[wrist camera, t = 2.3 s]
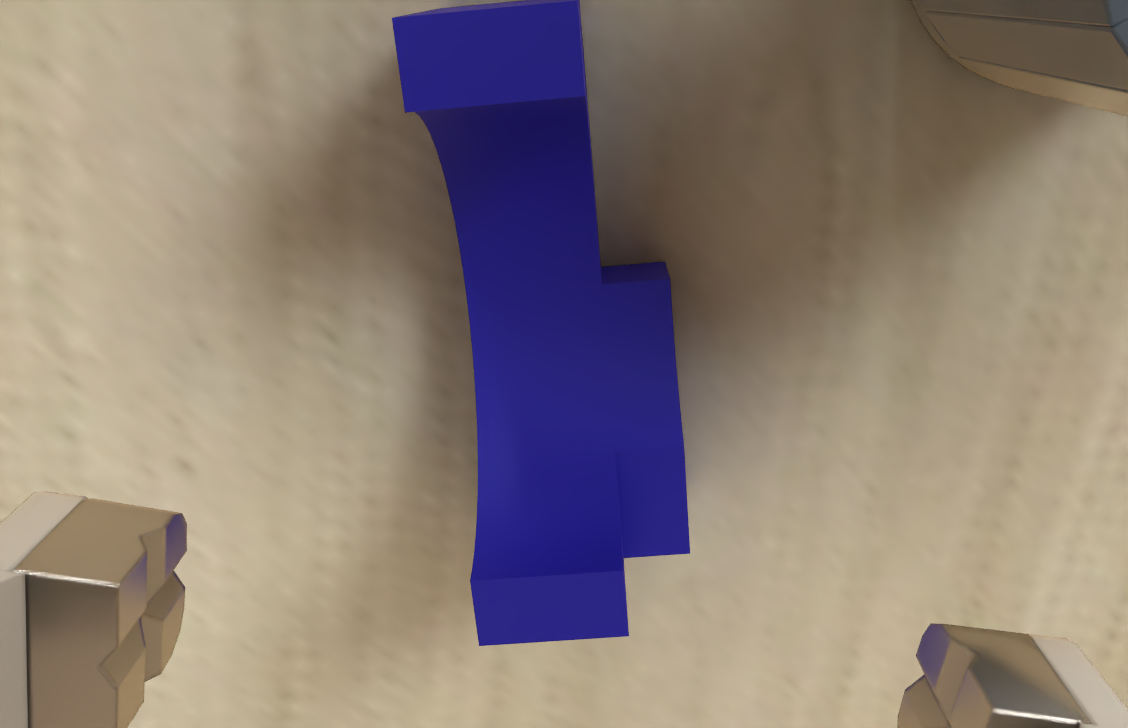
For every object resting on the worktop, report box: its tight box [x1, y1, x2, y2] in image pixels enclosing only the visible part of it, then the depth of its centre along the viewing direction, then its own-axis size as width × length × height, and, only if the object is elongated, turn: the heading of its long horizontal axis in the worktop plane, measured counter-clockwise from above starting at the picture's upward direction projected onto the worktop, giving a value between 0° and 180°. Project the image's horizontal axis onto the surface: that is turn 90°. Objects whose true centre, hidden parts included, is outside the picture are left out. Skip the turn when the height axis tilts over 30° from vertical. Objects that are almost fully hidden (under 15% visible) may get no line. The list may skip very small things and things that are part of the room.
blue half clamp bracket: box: [392, 0, 690, 646], centre depth 22 cm, size 12×4×6 cm, turn 5°
